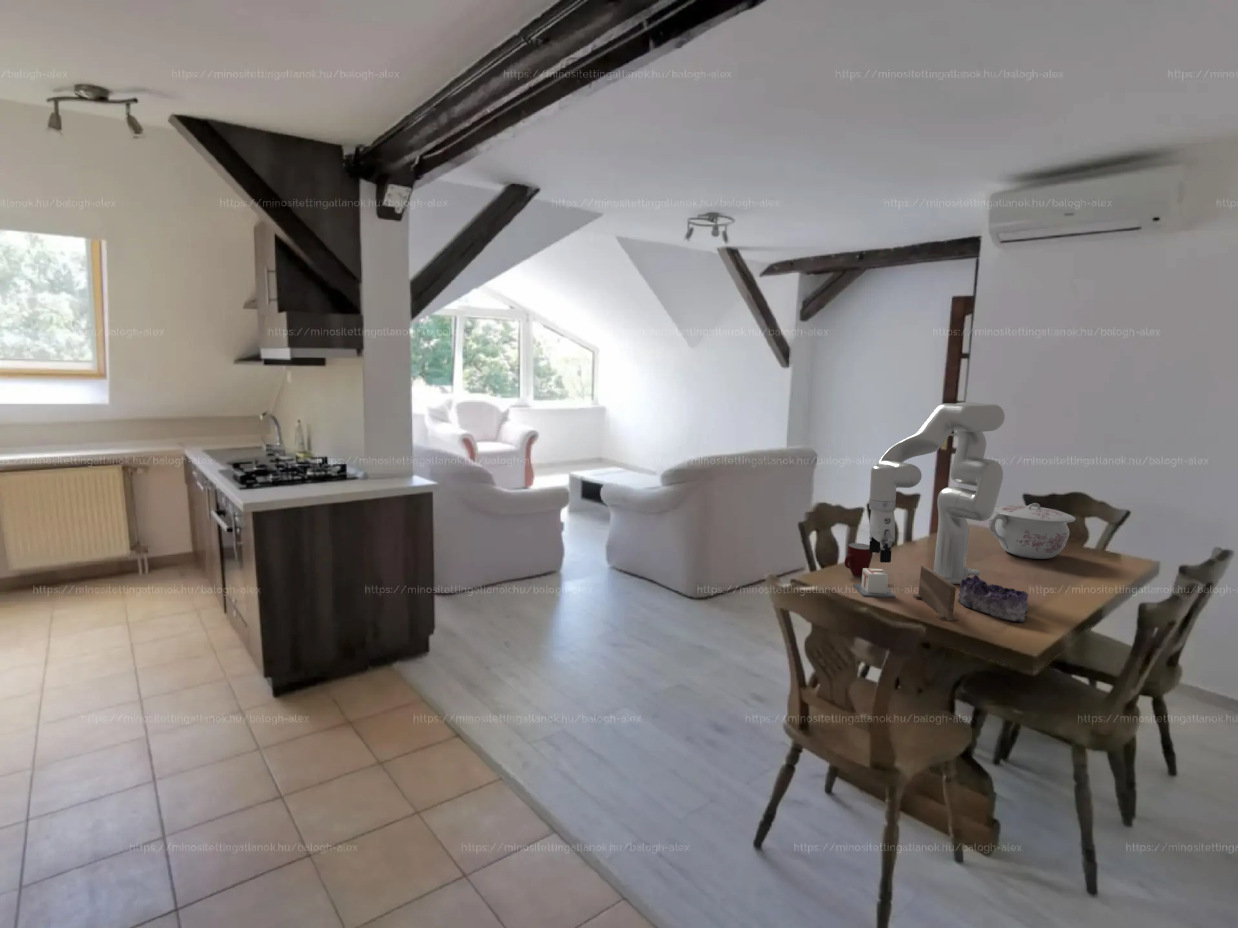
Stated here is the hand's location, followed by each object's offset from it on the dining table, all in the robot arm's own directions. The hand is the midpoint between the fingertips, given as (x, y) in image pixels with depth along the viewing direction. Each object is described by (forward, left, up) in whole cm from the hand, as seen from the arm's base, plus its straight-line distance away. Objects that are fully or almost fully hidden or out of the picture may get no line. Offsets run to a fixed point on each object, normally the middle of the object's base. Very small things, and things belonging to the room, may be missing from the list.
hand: (879, 557), depth 212 cm
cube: (+1, +1, -11) cm, 11 cm away
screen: (-12, +14, -11) cm, 22 cm away
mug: (+1, -16, -11) cm, 20 cm away
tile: (+1, +1, -11) cm, 11 cm away
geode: (-29, +14, -12) cm, 34 cm away
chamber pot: (-77, -52, -11) cm, 94 cm away
